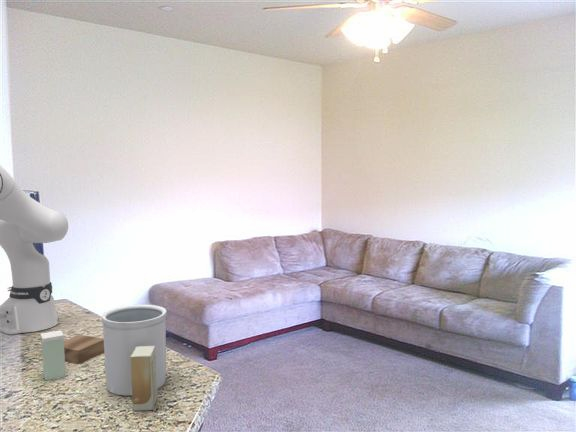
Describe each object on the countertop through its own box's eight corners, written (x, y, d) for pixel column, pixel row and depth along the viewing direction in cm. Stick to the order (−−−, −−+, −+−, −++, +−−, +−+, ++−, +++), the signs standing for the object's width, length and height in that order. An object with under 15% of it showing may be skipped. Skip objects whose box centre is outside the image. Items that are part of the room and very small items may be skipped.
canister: (45, 380, 123) (42, 338, 123) (42, 374, 128) (40, 333, 127) (66, 376, 126) (63, 335, 125) (63, 370, 130) (61, 330, 129)
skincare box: (138, 398, 113) (136, 345, 112) (158, 397, 114) (155, 344, 112) (132, 412, 107) (129, 356, 106) (152, 410, 107) (150, 355, 106)
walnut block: (52, 360, 138) (51, 345, 138) (80, 348, 147) (79, 334, 147) (79, 365, 134) (78, 350, 134) (106, 352, 143) (106, 338, 143)
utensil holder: (180, 375, 126) (178, 306, 124) (145, 401, 112) (142, 324, 110) (130, 368, 130) (127, 302, 129) (91, 392, 116) (87, 318, 115)
